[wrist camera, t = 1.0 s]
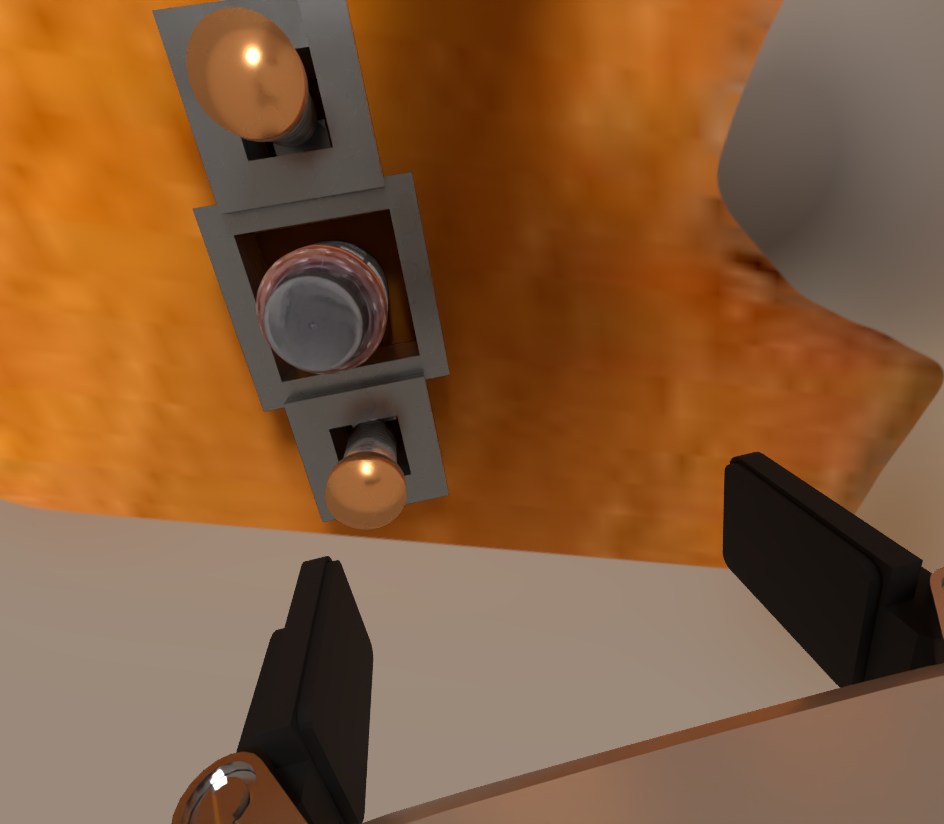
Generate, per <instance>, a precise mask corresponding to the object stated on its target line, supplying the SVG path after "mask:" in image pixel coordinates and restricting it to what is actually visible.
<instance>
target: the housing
mask: <svg viewBox="0 0 944 824" xmlns="http://www.w3.org/2000/svg"><path fill="white" fill-rule="evenodd" d="M226 7H240V8H246V9H250V10H253V11H255V12H258V13H260V14H262V15H263V16H265V17H267V18H268V19H270V20H271V21H272V22H274V23H275V24H276V25H277V26H278V27H279V28H280V29H281V30H282V31H283V32H284V33H285V35H286V36H287V37H288V39H289V40H290V42H291V43H292V45H293V46H294V48H295V50H296V51H297V53H298V55H299V57H300V59H301V61H302V63H303V66H304V68H305V72H306V75H307V80H310V79H317V82H318V86H319V90H320V94H321V99H322V103H323V107H324V111H325V115H326V120H327V124H328V128H329V132H330V136H331V140H332V145H333V148H332V145H331V141H330V137H329V133H328V129H327V125H326V121H325V119H324V120H317V123H316V127H315V130H314V132H313V134H312V136H311V137H310V138H309V139H308V140H307V141H306V142H305V143H303V144H302V145H299V146H296V147H283V146H280V145H277V144H275V143H273V145H274V148H275V152H276V155H277V157H271V158H269V154H268V151H267V147H266V144H265V142H256V141H251V140H247V139H244V138H242V137H240V136H237V135H235V134H234V133H232V132H230V131H228V130H226V129H225V128H223V127H221V126H220V125H219V124H217V123H216V122H215V121H214V120H213V119H212V118H211V117H210V116H209V115H208V114H207V113H206V112H205V111H204V109H203V108H202V107H201V105H200V104H199V102H198V101H197V99H196V97H195V95H194V93H193V91H192V88H191V85H190V82H189V79H188V74H187V68H186V53H187V47H188V42H189V39H190V37H191V34H192V32H193V30H194V29H195V27H196V26H197V24H198V23H199V22H200V21H201V20H202V19H203V18H204V17H205V16H207V15H208V14H210V13H211V12H213V11H216V10H218V9H222V8H226ZM153 14H154V17H155V20H156V23H157V26H158V29H159V32H160V35H161V38H162V41H163V44H164V47H165V50H166V53H167V56H168V59H169V62H170V65H171V68H172V71H173V74H174V77H175V80H176V83H177V86H178V89H179V92H180V95H181V98H182V101H183V104H184V107H185V110H186V113H187V116H188V119H189V122H190V125H191V128H192V131H193V134H194V137H195V140H196V143H197V146H198V149H199V152H200V155H201V158H202V161H203V164H204V167H205V170H206V173H207V176H208V179H209V182H210V185H211V188H212V191H213V194H214V197H215V200H216V203H217V205H211V206H205V207H199V208H193V211H194V214H195V217H196V220H197V223H198V226H199V228H200V231H201V234H202V237H203V240H204V243H205V246H206V248H207V251H208V254H209V257H210V260H211V263H212V265H213V268H214V271H215V274H216V277H217V280H218V282H219V285H220V288H221V291H222V294H223V297H224V299H225V302H226V305H227V308H228V311H229V314H230V317H231V319H232V322H233V325H234V328H235V331H236V334H237V336H238V339H239V342H240V345H241V348H242V351H243V353H244V356H245V359H246V362H247V365H248V368H249V370H250V373H251V376H252V379H253V382H254V385H255V388H256V390H257V393H258V396H259V399H260V402H261V405H262V407H263V410H264V411H269V410H274V409H279V408H284V407H285V410H286V413H287V416H288V419H289V422H290V425H291V428H292V431H293V434H294V437H295V440H296V443H297V446H298V449H299V452H300V455H301V458H302V461H303V464H304V467H305V470H306V473H307V476H308V479H309V482H310V485H311V488H312V491H313V494H314V497H315V500H316V503H317V506H318V509H319V512H320V515H321V518H322V521H323V522H326V521H331V520H336V519H335V518H334V517H333V515H332V514H331V513H330V511H329V509H328V507H327V505H326V501H325V490H326V486H327V482H328V478H329V475H330V473H331V471H332V469H333V468H334V466H335V465H336V464H337V463H338V462H339V461H340V460H342V459H343V458H344V454H345V450H346V446H347V441H348V437H349V435H348V431H347V428H346V426H347V425H352V427H353V428H354V427H355V426H356V425H357V424H359V423H362V422H367V421H372V420H378V421H381V422H385V421H390V420H395V419H396V416H397V417H398V421H399V425H400V429H401V434H402V438H403V442H401V443H397V464H398V465H399V466H400V468H401V469H402V471H403V473H404V476H405V479H406V502H405V504H410V503H415V502H419V501H424V500H429V499H433V498H438V497H443V496H447V495H449V493H448V487H447V482H446V477H445V471H444V466H443V460H442V455H441V451H440V446H439V441H438V436H437V431H436V427H435V422H434V417H433V412H432V407H431V402H430V398H429V393H428V388H427V383H426V379H430V378H435V377H441V376H446V375H450V373H449V368H448V362H447V357H446V352H445V346H444V341H443V336H442V330H441V325H440V320H439V314H438V309H437V304H436V298H435V293H434V288H433V282H432V277H431V272H430V266H429V261H428V256H427V250H426V245H425V240H424V234H423V229H422V224H421V218H420V213H419V207H418V202H417V197H416V191H415V186H414V181H413V175H412V172H409V173H403V174H397V175H391V176H385V177H384V176H383V172H382V167H381V162H380V157H379V152H378V148H377V143H376V138H375V133H374V128H373V124H372V119H371V114H370V109H369V104H368V99H367V95H366V90H365V85H364V80H363V75H362V71H361V66H360V61H359V56H358V51H357V47H356V42H355V37H354V32H353V27H352V23H351V19H350V15H349V10H348V6H347V2H346V0H225V1H218V2H211V3H204V4H196V5H189V6H182V7H175V8H168V9H160V10H153ZM388 210H390V214H391V219H392V224H393V228H394V233H395V238H396V243H397V248H398V252H399V257H400V262H401V267H402V272H403V276H404V281H405V286H406V291H407V296H408V300H409V305H410V310H411V315H412V320H413V324H414V329H415V334H416V339H417V340H415V341H410V342H404V343H399V344H394V345H389V346H384V347H378V348H377V349H376V350H375V352H374V353H373V354H372V355H371V356H370V357H369V358H368V359H367V360H366V361H365V362H363V363H362V364H361V365H359V366H357V367H356V368H354V369H351V370H348V371H346V372H342V373H338V374H322V375H320V374H315V373H309V372H306V371H303V370H301V369H298V368H296V367H294V366H292V365H291V364H289V363H287V362H286V361H284V360H283V359H282V358H281V357H280V356H278V355H277V354H276V353H275V351H274V350H273V349H272V348H271V347H270V345H269V344H268V342H267V341H266V339H265V338H264V336H263V334H262V331H261V329H260V327H259V323H258V319H257V314H256V298H257V292H258V288H259V286H260V283H261V281H262V279H263V277H264V275H265V273H266V272H267V270H266V267H265V264H264V261H263V257H262V254H261V251H260V248H259V245H258V241H257V238H256V235H255V233H260V232H266V231H272V230H278V229H283V228H289V227H295V226H301V225H307V224H312V223H318V222H324V221H330V220H336V219H341V218H347V217H353V216H359V215H365V214H370V213H376V212H382V211H388Z"/></svg>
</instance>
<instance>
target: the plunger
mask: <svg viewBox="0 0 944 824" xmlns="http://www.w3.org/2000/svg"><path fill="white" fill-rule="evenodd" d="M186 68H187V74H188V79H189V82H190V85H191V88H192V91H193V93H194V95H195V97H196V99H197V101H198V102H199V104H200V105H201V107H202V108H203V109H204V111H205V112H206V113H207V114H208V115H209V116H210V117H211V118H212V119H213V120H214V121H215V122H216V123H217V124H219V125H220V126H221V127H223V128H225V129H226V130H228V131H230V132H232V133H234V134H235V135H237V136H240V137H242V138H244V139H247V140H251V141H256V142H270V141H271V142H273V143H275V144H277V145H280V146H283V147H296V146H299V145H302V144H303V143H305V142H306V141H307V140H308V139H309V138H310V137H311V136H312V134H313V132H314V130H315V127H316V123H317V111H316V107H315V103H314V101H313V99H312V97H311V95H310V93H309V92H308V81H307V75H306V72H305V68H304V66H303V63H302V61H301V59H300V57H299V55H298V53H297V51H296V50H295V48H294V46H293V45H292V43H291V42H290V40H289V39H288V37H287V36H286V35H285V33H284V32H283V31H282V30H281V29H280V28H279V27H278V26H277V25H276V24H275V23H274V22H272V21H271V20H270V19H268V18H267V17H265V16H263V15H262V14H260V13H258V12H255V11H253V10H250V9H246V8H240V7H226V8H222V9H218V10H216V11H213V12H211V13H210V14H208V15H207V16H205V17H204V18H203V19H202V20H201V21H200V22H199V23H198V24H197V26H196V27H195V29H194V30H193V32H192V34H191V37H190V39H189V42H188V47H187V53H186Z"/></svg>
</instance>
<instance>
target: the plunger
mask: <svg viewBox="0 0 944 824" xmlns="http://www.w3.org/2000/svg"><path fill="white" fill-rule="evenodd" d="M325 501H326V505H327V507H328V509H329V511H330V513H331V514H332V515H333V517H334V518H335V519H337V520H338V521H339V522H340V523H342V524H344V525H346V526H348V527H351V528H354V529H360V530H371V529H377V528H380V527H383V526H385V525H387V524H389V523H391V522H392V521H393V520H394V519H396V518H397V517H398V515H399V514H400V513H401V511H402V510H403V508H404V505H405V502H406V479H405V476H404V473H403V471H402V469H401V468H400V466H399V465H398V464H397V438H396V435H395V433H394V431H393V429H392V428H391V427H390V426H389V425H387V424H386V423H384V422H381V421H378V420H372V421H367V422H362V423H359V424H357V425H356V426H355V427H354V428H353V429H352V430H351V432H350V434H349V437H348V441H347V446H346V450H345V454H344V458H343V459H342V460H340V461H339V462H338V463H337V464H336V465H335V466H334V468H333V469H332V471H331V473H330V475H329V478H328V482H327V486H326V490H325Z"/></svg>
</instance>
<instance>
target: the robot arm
mask: <svg viewBox="0 0 944 824" xmlns="http://www.w3.org/2000/svg"><path fill="white" fill-rule="evenodd" d="M723 557H724V560H725V562H726V564H727V566H728V567H729V569H730V570H731V571H732V572H733V573H734V574H735V575H736V576H737V577H738V578H739V580H740V581H741V582H742V583H743V584H744V585H745V586H746V587H747V588H748V589H749V590H750V591H751V592H752V594H753V595H754V596H755V597H756V598H757V599H758V600H759V601H760V602H761V603H762V604H763V605H764V607H765V608H766V609H767V610H768V611H769V612H770V613H771V614H772V615H773V616H774V617H775V618H776V619H777V621H778V622H780V624H781V625H782V626H783V627H784V628H785V629H786V630H787V631H788V632H789V633H790V634H791V636H792V637H793V638H794V639H795V640H796V641H797V642H798V643H799V644H800V645H801V646H802V647H803V649H804V650H805V651H807V653H808V654H809V655H810V656H811V657H812V658H813V659H814V660H815V661H816V662H817V664H818V665H819V666H820V667H821V668H822V669H823V670H824V671H825V672H826V673H827V674H828V676H829V677H830V678H831V679H832V680H833V681H834V682H835V683H836V684H837V685H838V686H839V687H841V688H838V689H834V690H831V691H827V692H823V693H819V694H816V695H812V696H808V697H805V698H801V699H797V700H793V701H789V702H786V703H782V704H779V705H774V706H771V707H767V708H763V709H759V710H756V711H752V712H748V713H745V714H741V715H737V716H734V717H730V718H726V719H723V720H719V721H715V722H712V723H708V724H704V725H701V726H697V727H693V728H689V729H686V730H682V731H678V732H675V733H671V734H667V735H664V736H660V737H657V738H653V739H649V740H646V741H642V742H638V743H635V744H631V745H627V746H624V747H620V748H616V749H613V750H609V751H605V752H602V753H598V754H595V755H591V756H587V757H584V758H580V759H577V760H573V761H569V762H566V763H563V764H559V765H556V766H552V767H548V768H545V769H541V770H538V771H534V772H530V773H527V774H523V775H520V776H516V777H512V778H509V779H505V780H502V781H498V782H495V783H491V784H488V785H484V786H480V787H477V788H473V789H470V790H467V791H463V792H460V793H456V794H453V795H450V796H446V797H443V798H440V799H437V800H433V801H430V802H426V803H423V804H420V805H417V806H413V807H410V808H406V809H403V810H400V811H396V812H393V813H390V814H387V815H384V816H382V817H379V818H376V819H373V820H370V821H368V822H365V823H362V822H363V819H364V812H365V795H366V794H365V793H366V777H367V759H368V741H369V723H370V706H371V688H372V670H373V651H372V645H371V642H370V639H369V636H368V634H367V631H366V628H365V626H364V623H363V621H362V618H361V615H360V613H359V610H358V607H357V605H356V602H355V599H354V597H353V594H352V591H351V589H350V586H349V583H348V581H347V578H346V575H345V573H344V570H343V568H342V565H341V563H340V561H339V560H336V561H332V560H331V558H330V557H329V556H326V557H322V558H318V559H313V560H310V561H305V562H303V564H302V566H301V569H300V573H299V577H298V580H297V584H296V588H295V591H294V595H293V599H292V602H291V606H290V610H289V614H288V617H287V621H286V624H285V628H283V629H279V630H276V631H275V632H274V633H273V634H272V637H271V639H270V642H269V645H268V648H267V652H266V655H265V658H264V662H263V665H262V669H261V672H260V675H259V679H258V682H257V685H256V688H255V692H254V695H253V699H252V702H251V705H250V708H249V712H248V715H247V718H246V722H245V725H244V728H243V732H242V735H241V739H240V742H239V745H238V748H237V752H236V753H233V754H229V755H227V756H225V757H223V758H221V759H219V760H217V761H215V762H214V763H213V764H211V765H210V766H209V767H207V768H206V769H205V770H203V771H202V772H201V773H200V774H199V775H198V776H197V777H196V778H195V779H194V780H193V781H192V783H191V784H190V785H189V786H188V788H187V789H186V791H185V792H184V794H183V795H182V797H181V798H180V800H179V802H178V805H177V807H176V809H175V811H174V814H173V818H172V823H171V824H944V567H942V568H939V569H937V570H935V571H934V573H930V572H929V571H927V570H926V569H924V568H923V567H921V565H922V561H923V560H922V559H920V558H918V557H917V556H915V555H914V554H912V553H911V552H909V551H908V550H906V549H905V548H903V547H902V546H900V545H899V544H897V543H896V542H894V541H893V540H891V539H890V538H888V537H887V536H885V535H884V534H882V533H881V532H879V531H878V530H876V529H875V528H873V527H872V526H870V525H869V524H867V523H866V522H864V521H863V520H861V519H860V518H858V517H857V516H855V515H854V514H852V513H851V512H849V511H848V510H846V509H845V508H843V507H842V506H840V505H839V504H837V503H836V502H834V501H833V500H831V499H830V498H828V497H827V496H825V495H824V494H822V493H821V492H819V491H818V490H816V489H815V488H813V487H812V486H810V485H809V484H807V483H806V482H804V481H803V480H801V479H800V478H798V477H797V476H795V475H794V474H792V473H791V472H789V471H788V470H786V469H785V468H783V467H782V466H780V465H779V464H777V463H776V462H774V461H773V460H771V459H770V458H768V457H767V456H765V455H764V454H762V453H760V452H753V453H749V454H745V455H741V456H737V457H734V458H732V459H731V461H730V465H727V466H726V468H725V479H724V521H723Z"/></svg>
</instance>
